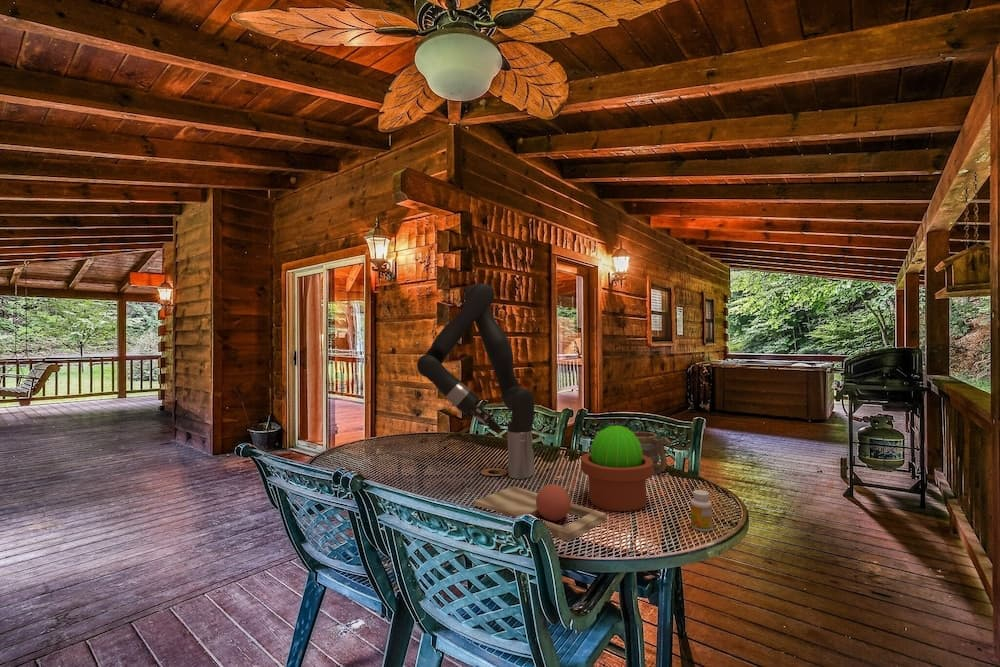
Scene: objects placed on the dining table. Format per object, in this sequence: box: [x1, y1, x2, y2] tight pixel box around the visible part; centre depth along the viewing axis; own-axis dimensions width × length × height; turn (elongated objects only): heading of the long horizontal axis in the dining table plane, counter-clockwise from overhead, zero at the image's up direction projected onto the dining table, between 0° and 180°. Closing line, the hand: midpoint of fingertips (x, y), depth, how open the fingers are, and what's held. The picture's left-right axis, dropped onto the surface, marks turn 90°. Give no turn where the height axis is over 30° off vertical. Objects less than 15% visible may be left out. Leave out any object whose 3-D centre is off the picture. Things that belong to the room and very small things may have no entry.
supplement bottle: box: [690, 489, 713, 532], centre depth 127 cm, size 5×5×10 cm
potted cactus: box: [580, 423, 654, 512], centre depth 147 cm, size 22×22×25 cm
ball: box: [536, 483, 572, 522], centre depth 134 cm, size 10×10×10 cm
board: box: [474, 485, 607, 542], centre depth 139 cm, size 18×36×2 cm, turn 46°
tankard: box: [632, 431, 672, 476], centre depth 176 cm, size 20×13×15 cm, turn 23°
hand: (497, 429), depth 159 cm, fingers open, 8 cm apart
